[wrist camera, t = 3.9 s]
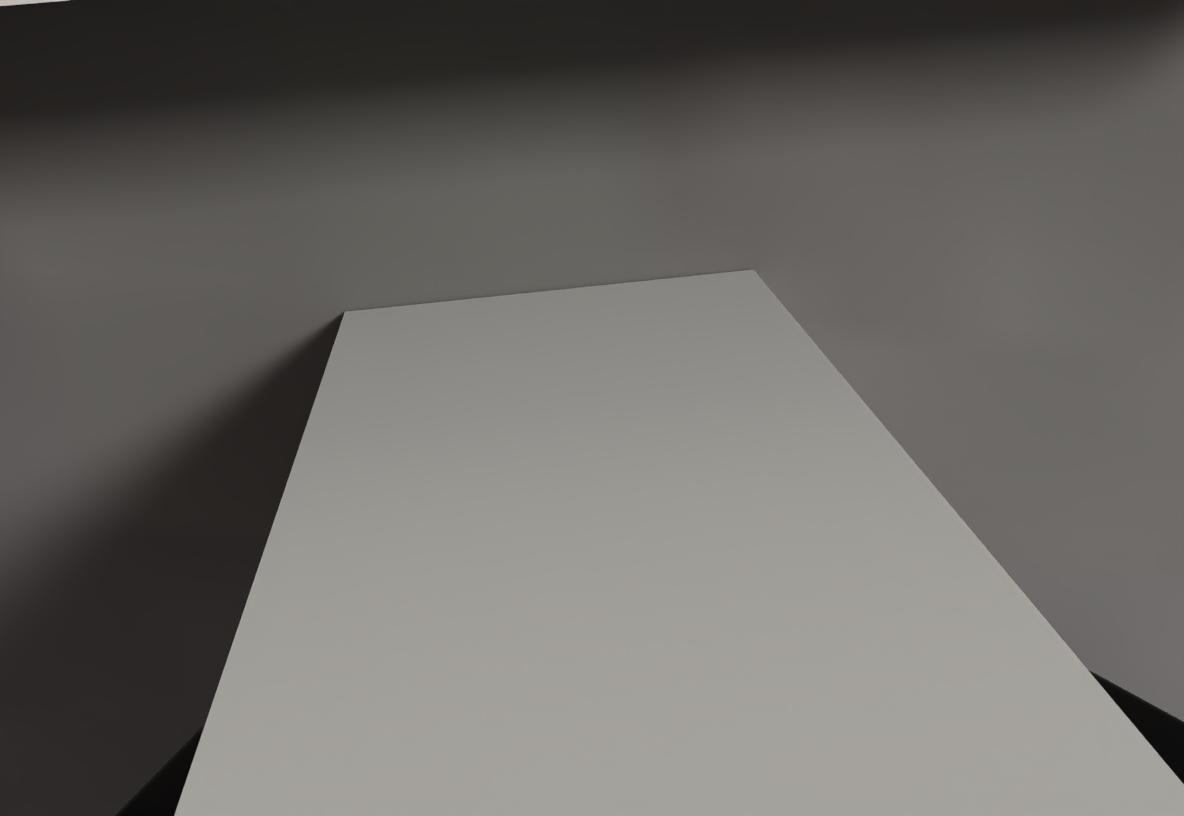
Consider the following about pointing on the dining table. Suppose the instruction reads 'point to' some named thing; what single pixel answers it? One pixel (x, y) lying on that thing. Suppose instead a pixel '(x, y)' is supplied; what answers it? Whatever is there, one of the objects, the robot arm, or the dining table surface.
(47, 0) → the socket plate
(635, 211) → the dining table surface
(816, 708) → the plug block
